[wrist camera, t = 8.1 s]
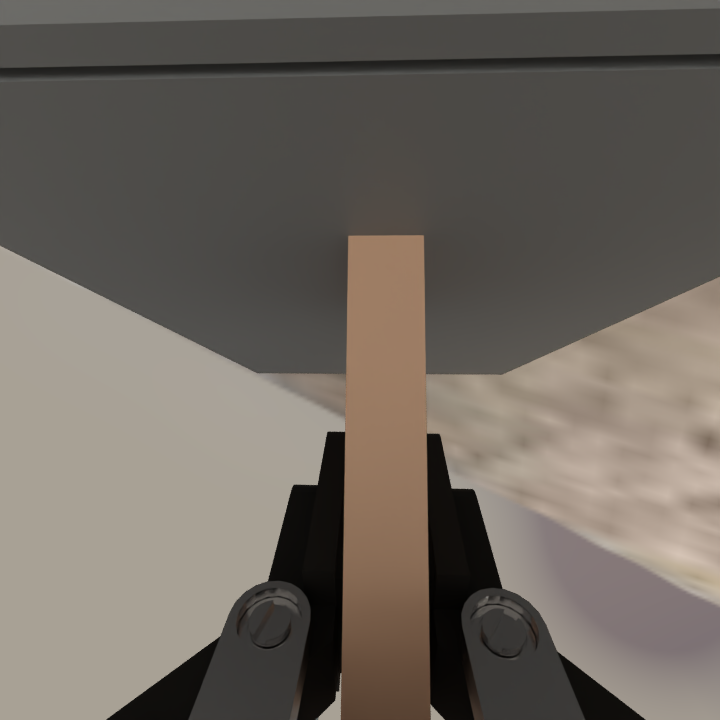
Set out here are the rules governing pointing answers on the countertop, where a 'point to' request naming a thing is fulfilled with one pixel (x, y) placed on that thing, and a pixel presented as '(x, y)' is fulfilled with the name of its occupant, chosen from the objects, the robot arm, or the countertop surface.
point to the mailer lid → (368, 211)
